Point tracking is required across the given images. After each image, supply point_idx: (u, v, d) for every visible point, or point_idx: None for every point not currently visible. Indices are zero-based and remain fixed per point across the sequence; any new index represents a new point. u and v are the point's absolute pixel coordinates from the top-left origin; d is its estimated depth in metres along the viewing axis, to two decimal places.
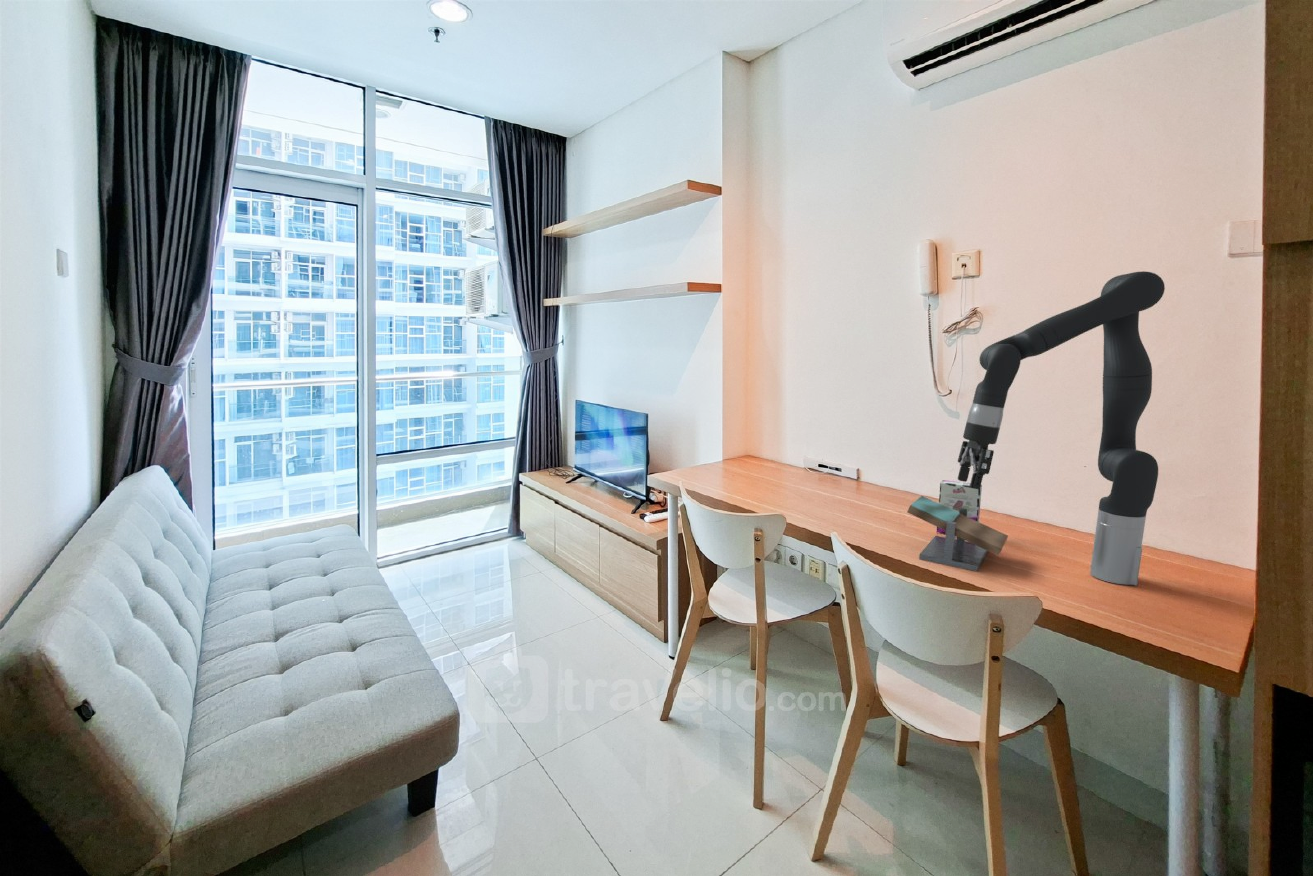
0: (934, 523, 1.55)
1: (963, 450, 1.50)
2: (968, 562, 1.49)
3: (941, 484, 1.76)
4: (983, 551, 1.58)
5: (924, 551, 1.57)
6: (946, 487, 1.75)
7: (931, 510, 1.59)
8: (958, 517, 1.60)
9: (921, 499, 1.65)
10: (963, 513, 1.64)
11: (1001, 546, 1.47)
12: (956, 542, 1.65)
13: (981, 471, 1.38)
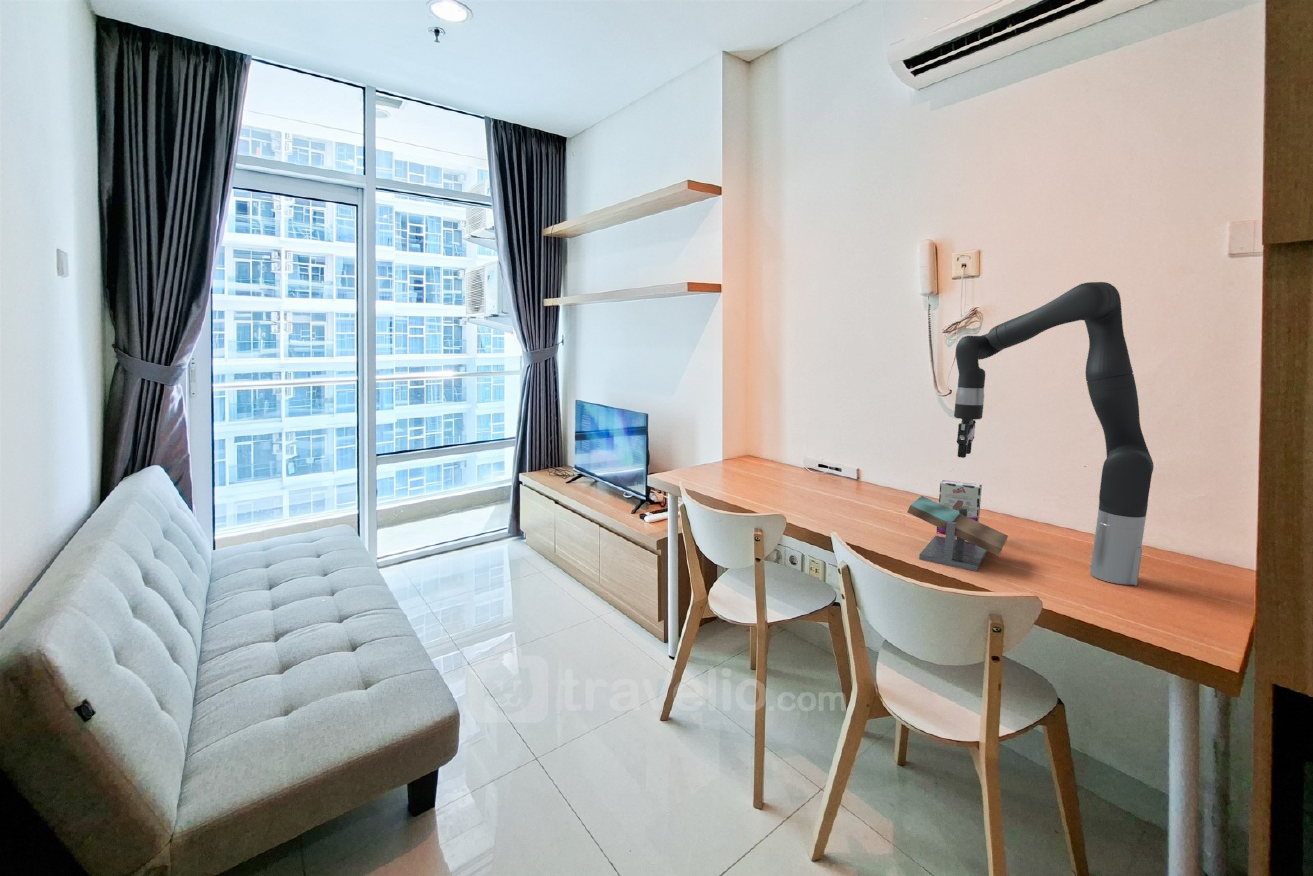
0: (934, 523, 1.55)
1: None
2: (968, 562, 1.49)
3: (941, 484, 1.76)
4: (983, 551, 1.58)
5: (924, 551, 1.57)
6: (946, 487, 1.75)
7: (931, 510, 1.59)
8: (958, 517, 1.60)
9: (921, 499, 1.65)
10: (963, 513, 1.64)
11: (1001, 546, 1.47)
12: (956, 542, 1.65)
13: (959, 442, 1.67)
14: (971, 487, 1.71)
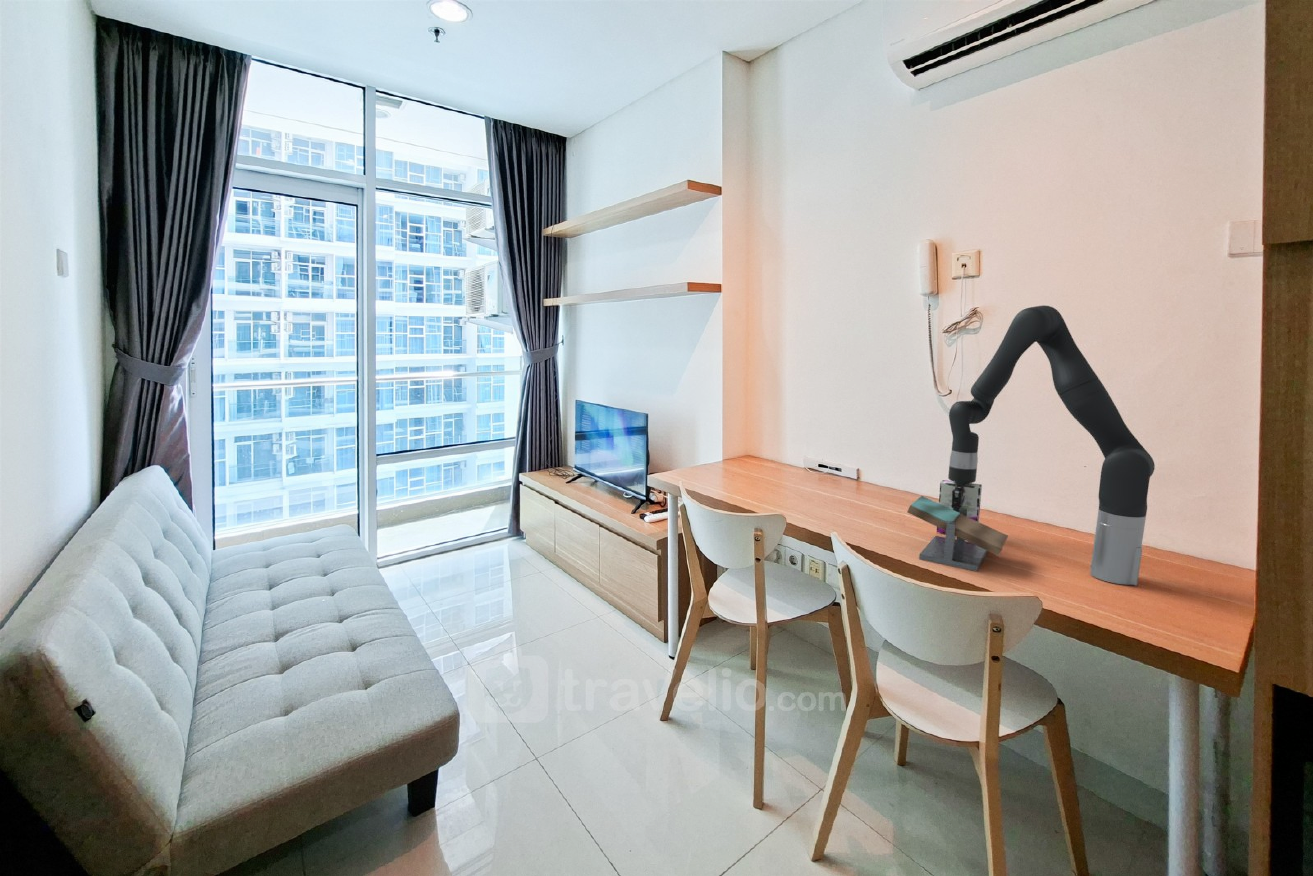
0: (934, 523, 1.55)
1: None
2: (968, 562, 1.49)
3: (941, 484, 1.76)
4: (983, 551, 1.58)
5: (924, 551, 1.57)
6: (945, 487, 1.75)
7: (931, 510, 1.59)
8: (958, 517, 1.60)
9: (921, 499, 1.65)
10: (963, 513, 1.64)
11: (1001, 546, 1.47)
12: (956, 542, 1.65)
13: (954, 507, 1.72)
14: (971, 487, 1.71)
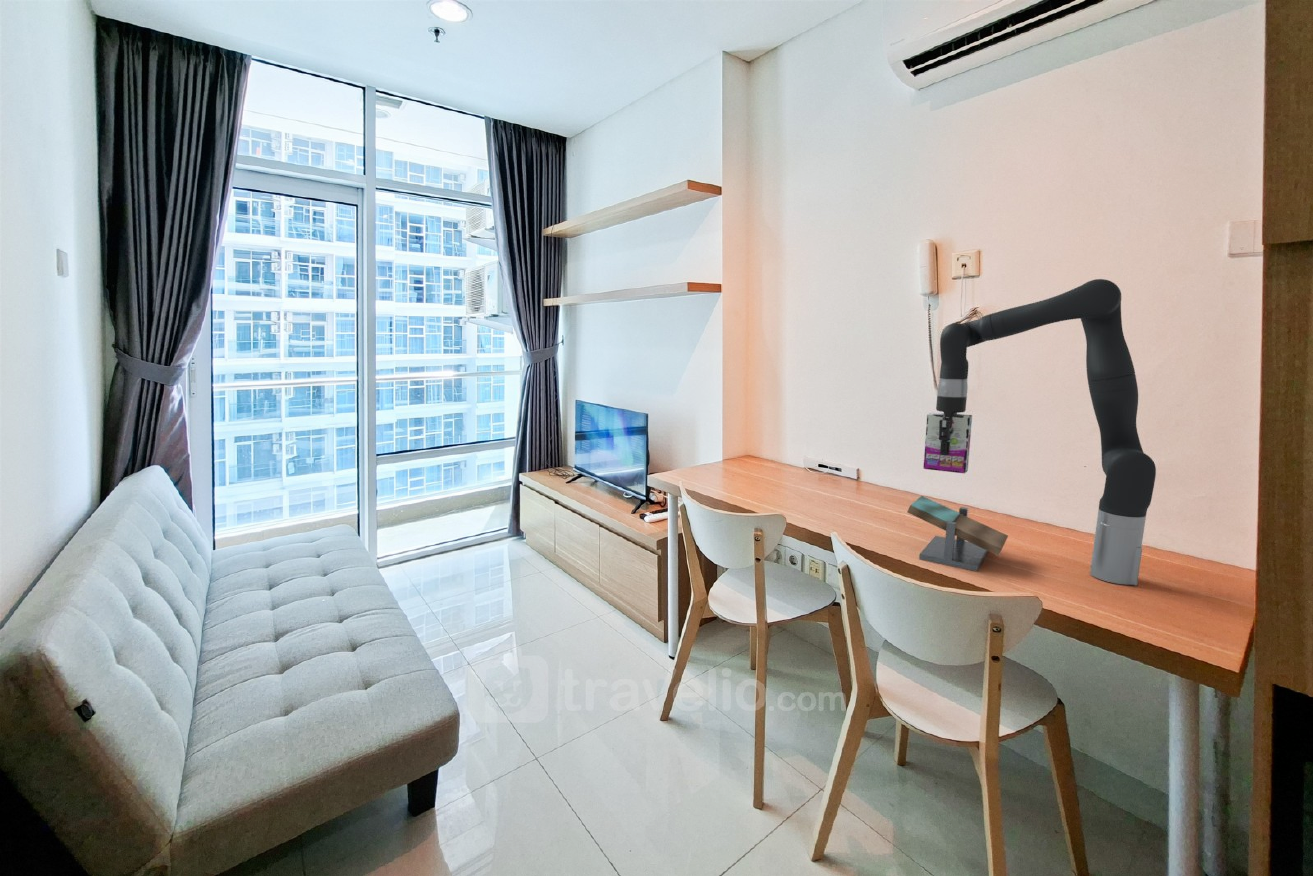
0: (934, 523, 1.55)
1: None
2: (968, 562, 1.49)
3: (928, 416, 1.63)
4: (983, 551, 1.58)
5: (924, 551, 1.57)
6: (933, 418, 1.63)
7: (931, 510, 1.59)
8: (958, 517, 1.60)
9: (921, 499, 1.65)
10: (963, 513, 1.64)
11: (1001, 546, 1.47)
12: (956, 542, 1.65)
13: (941, 438, 1.59)
14: (960, 417, 1.58)
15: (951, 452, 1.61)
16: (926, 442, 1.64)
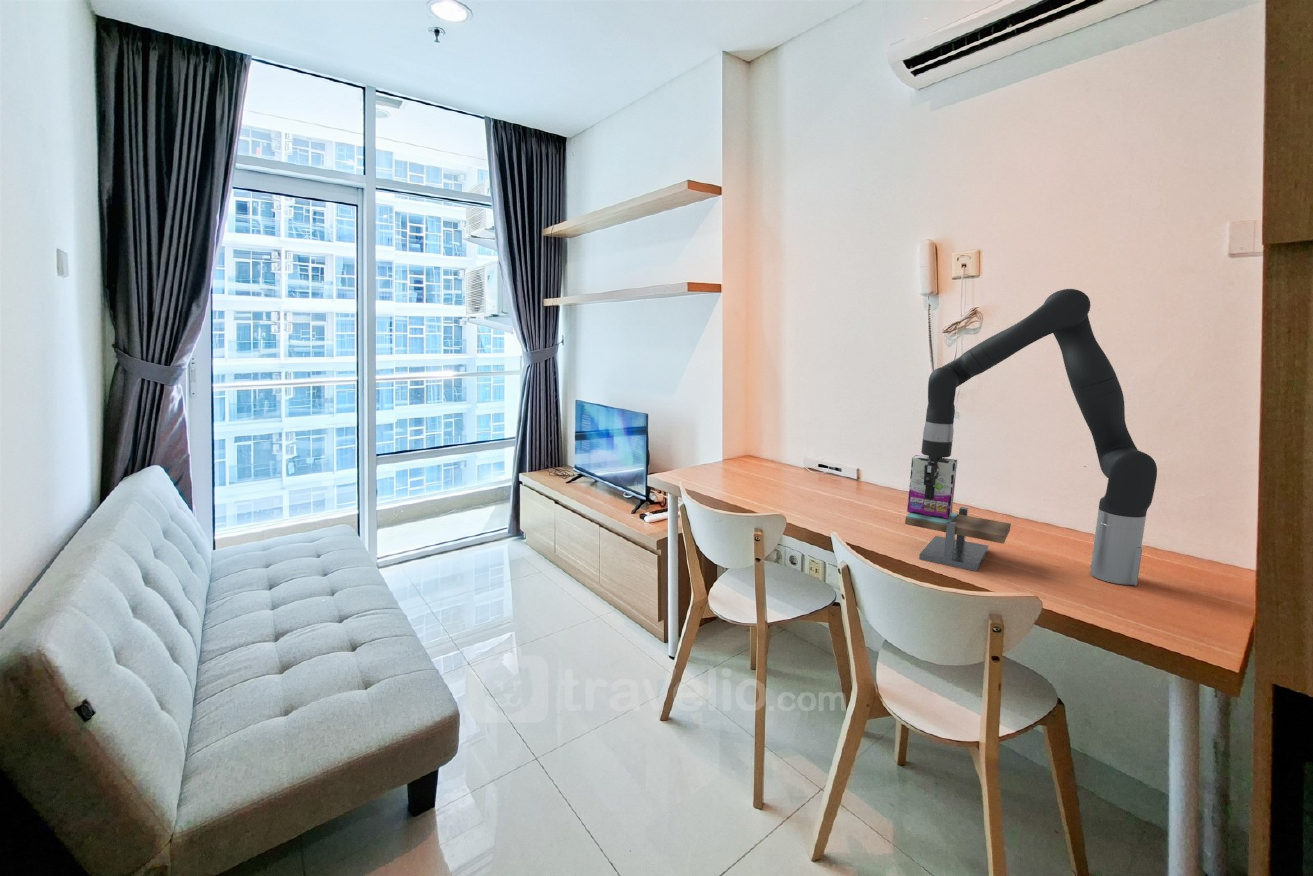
0: (933, 528, 1.55)
1: None
2: (968, 562, 1.49)
3: (913, 459, 1.60)
4: (983, 551, 1.58)
5: (924, 551, 1.57)
6: (918, 462, 1.60)
7: (927, 516, 1.59)
8: (957, 517, 1.60)
9: None
10: (963, 513, 1.64)
11: (1004, 534, 1.47)
12: (956, 542, 1.65)
13: (926, 483, 1.56)
14: (945, 462, 1.56)
15: (935, 497, 1.58)
16: (910, 485, 1.62)
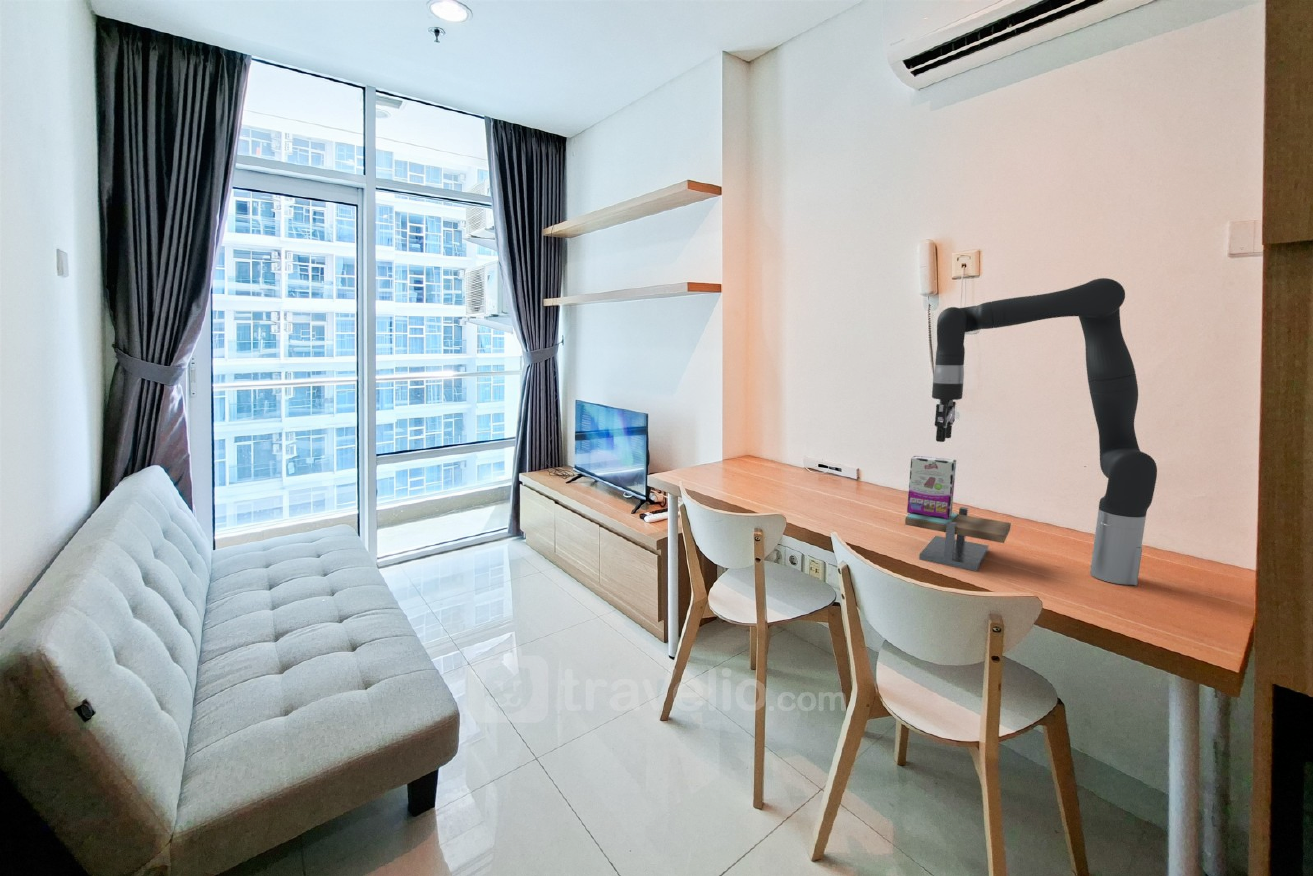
0: (933, 528, 1.55)
1: None
2: (968, 562, 1.49)
3: (912, 459, 1.61)
4: (983, 551, 1.58)
5: (924, 551, 1.57)
6: (917, 462, 1.60)
7: (927, 517, 1.59)
8: (957, 517, 1.60)
9: None
10: (963, 513, 1.64)
11: (1004, 533, 1.47)
12: (956, 542, 1.65)
13: (937, 424, 1.52)
14: (944, 462, 1.56)
15: (935, 497, 1.58)
16: (910, 486, 1.62)
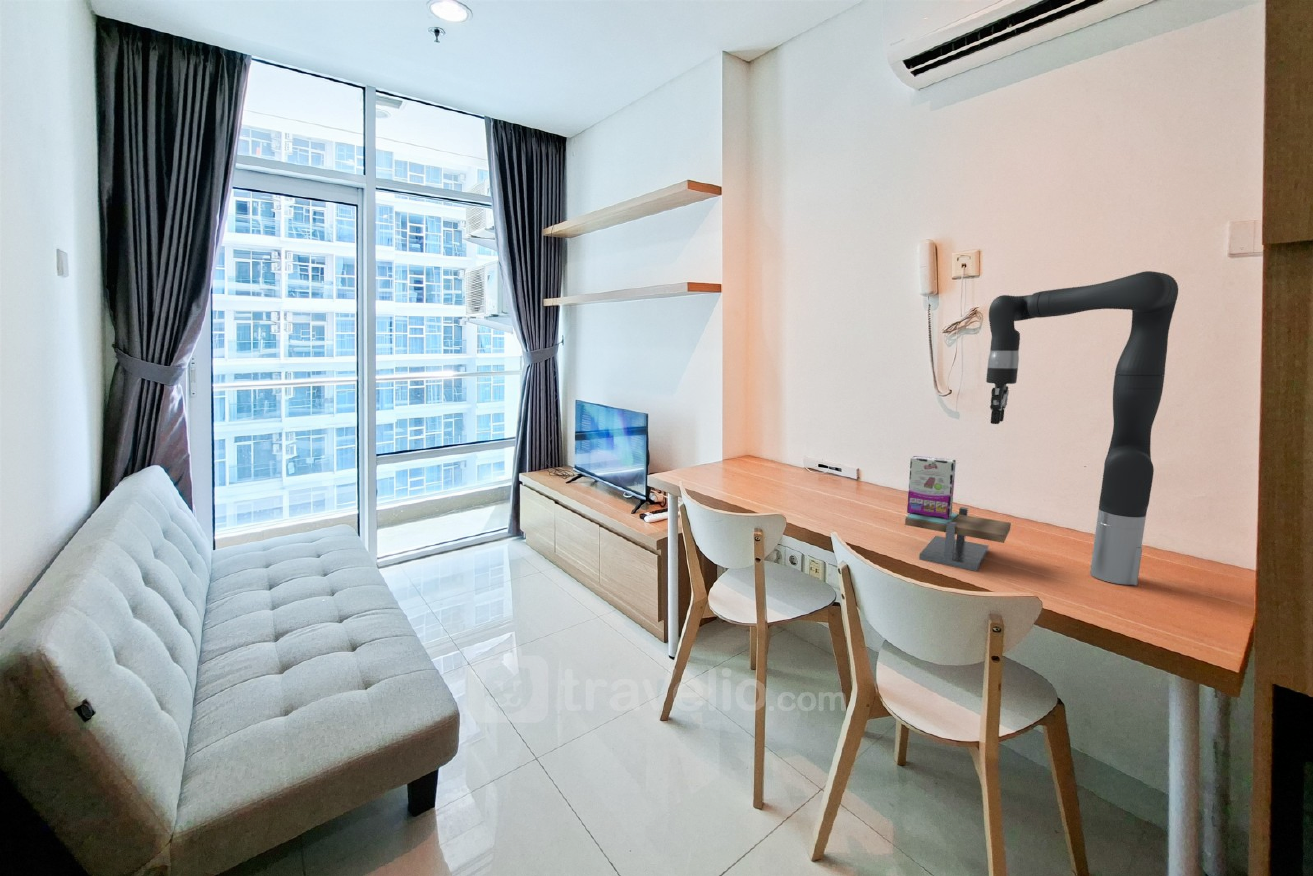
0: (933, 528, 1.55)
1: None
2: (968, 562, 1.49)
3: (911, 460, 1.61)
4: (983, 551, 1.58)
5: (924, 551, 1.57)
6: (916, 462, 1.60)
7: (927, 517, 1.59)
8: (957, 517, 1.60)
9: None
10: (963, 513, 1.64)
11: (1004, 533, 1.47)
12: (956, 542, 1.65)
13: (993, 407, 1.59)
14: (944, 462, 1.56)
15: (935, 497, 1.58)
16: (910, 486, 1.62)
